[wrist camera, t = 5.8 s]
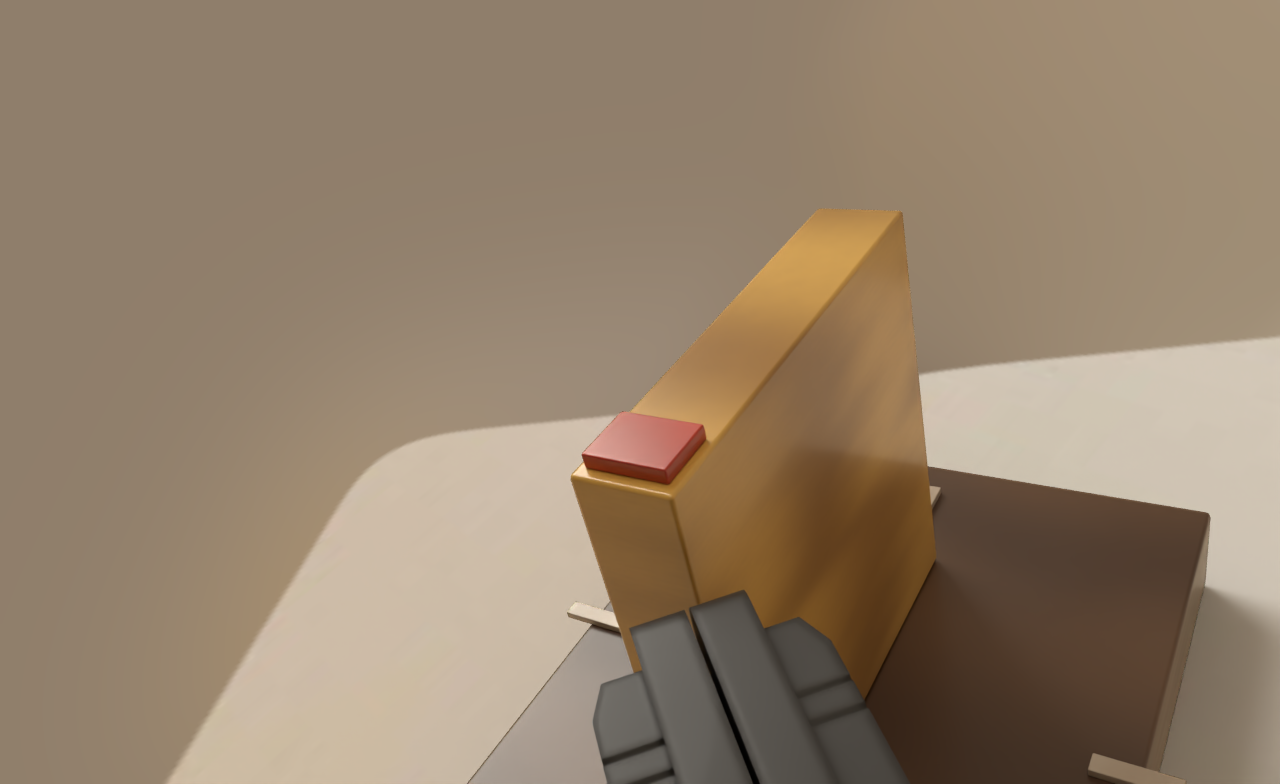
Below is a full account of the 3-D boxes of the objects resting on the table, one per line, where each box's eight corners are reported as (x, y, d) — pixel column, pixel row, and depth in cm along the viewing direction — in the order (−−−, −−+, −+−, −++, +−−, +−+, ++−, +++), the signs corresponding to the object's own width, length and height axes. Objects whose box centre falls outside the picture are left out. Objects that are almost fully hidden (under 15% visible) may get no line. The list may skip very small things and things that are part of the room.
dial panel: (733, 488, 29) (718, 425, 28) (1237, 588, 22) (1245, 510, 21) (392, 944, 20) (350, 877, 19) (1077, 1347, 13) (1076, 1281, 12)
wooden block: (866, 541, 23) (815, 194, 19) (937, 557, 22) (902, 196, 18) (689, 847, 18) (561, 461, 13) (773, 883, 17) (667, 482, 13)
